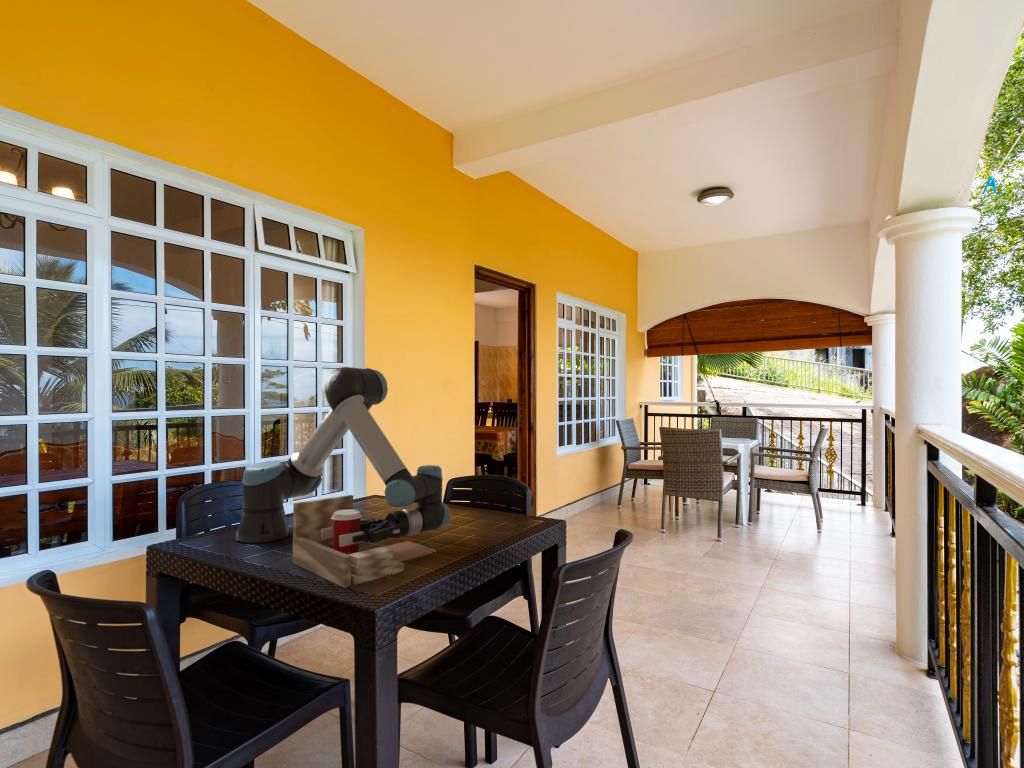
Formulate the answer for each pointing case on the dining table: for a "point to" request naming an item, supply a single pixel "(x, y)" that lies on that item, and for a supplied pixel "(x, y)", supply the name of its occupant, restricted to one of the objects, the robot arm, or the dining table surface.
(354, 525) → the paper cup
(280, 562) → the dining table surface
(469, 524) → the dining table surface
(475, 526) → the dining table surface
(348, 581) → the oak rack
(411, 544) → the terracotta mat
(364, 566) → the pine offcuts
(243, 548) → the dining table surface
